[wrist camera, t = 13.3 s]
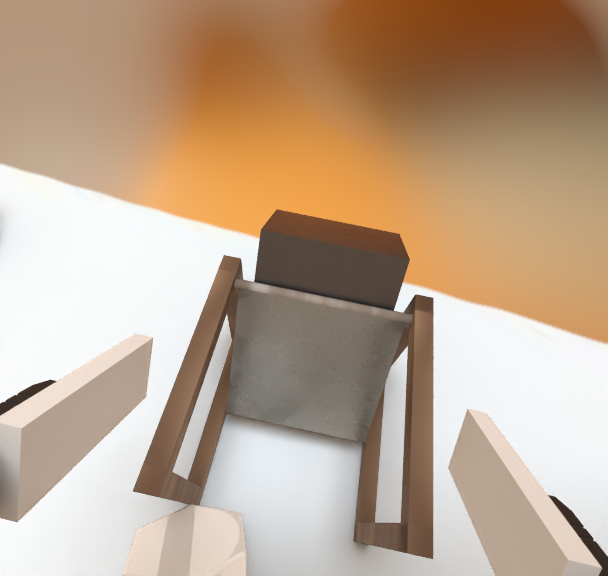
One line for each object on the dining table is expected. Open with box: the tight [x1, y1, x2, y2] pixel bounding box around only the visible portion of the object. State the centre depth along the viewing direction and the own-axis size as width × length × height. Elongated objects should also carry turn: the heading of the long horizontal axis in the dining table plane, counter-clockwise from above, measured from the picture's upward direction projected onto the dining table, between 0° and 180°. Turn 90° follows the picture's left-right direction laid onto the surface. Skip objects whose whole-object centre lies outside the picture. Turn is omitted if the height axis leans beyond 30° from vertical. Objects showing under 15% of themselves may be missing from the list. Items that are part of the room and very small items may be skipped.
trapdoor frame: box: [133, 255, 433, 559], centre depth 33 cm, size 18×18×16 cm
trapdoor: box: [226, 210, 410, 443], centre depth 36 cm, size 14×19×8 cm
